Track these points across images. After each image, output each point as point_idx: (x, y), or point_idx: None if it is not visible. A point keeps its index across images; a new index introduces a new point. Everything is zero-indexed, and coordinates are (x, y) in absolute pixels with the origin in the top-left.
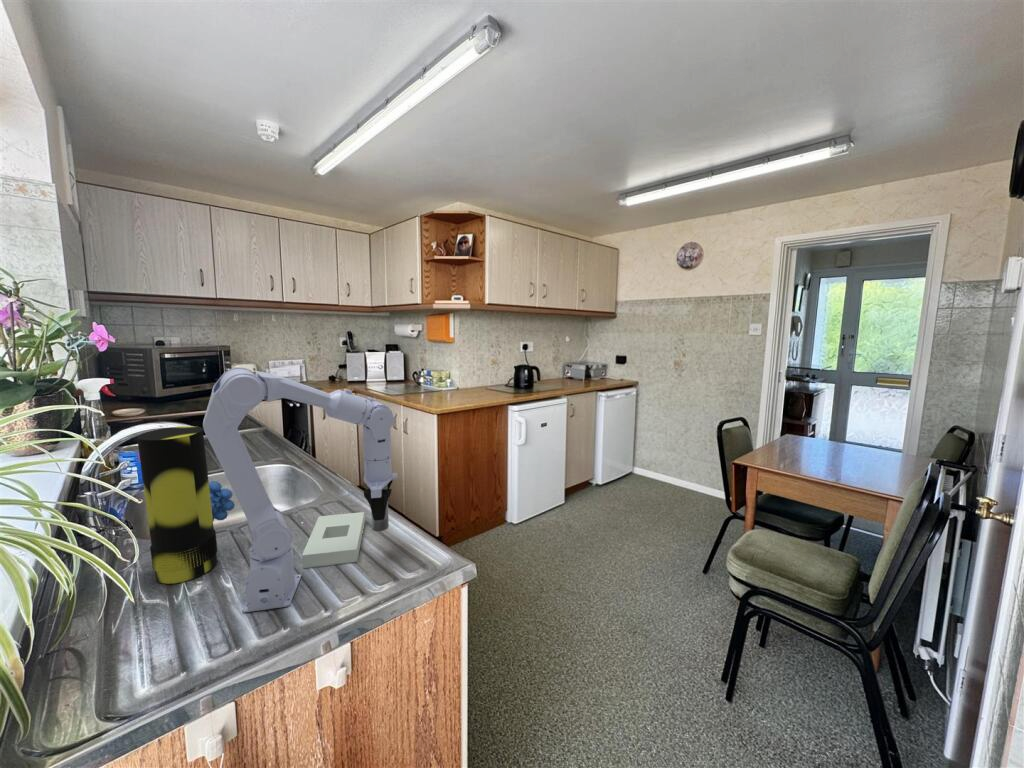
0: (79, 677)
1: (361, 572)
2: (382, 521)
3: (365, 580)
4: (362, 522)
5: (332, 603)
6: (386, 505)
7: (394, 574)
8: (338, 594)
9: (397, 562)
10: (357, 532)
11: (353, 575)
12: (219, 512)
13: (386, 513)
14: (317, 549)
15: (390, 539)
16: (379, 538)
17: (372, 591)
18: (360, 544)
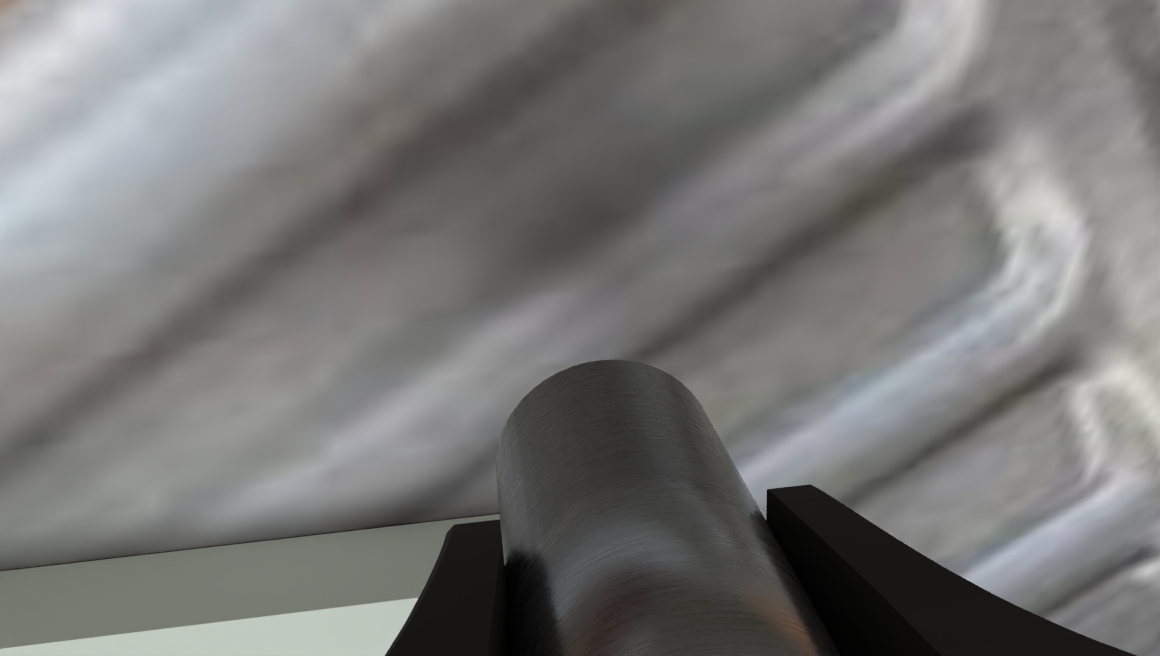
0: None
1: (788, 433)
2: (745, 484)
3: (905, 382)
4: (50, 633)
5: (1095, 537)
6: (767, 576)
7: (890, 157)
8: (1013, 526)
9: (705, 149)
10: (311, 633)
11: (813, 482)
12: None
13: (728, 489)
14: None
15: (249, 271)
16: (223, 385)
17: (1061, 305)
18: (339, 533)
